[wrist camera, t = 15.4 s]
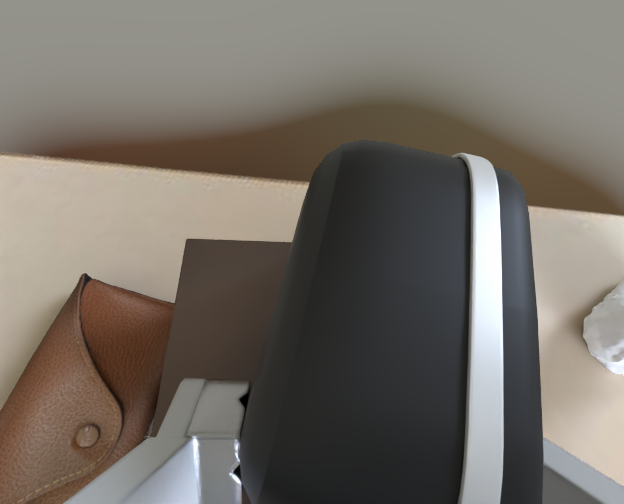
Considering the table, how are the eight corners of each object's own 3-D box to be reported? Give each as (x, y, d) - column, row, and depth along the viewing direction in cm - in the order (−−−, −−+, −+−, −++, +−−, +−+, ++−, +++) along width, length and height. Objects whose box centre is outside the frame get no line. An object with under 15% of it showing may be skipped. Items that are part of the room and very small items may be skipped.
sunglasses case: (81, 641, 18) (-92, 709, 13) (18, 581, 21) (-139, 615, 16) (205, 306, 25) (128, 264, 20) (144, 301, 29) (65, 265, 24)
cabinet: (389, 294, 27) (441, 235, 18) (408, 496, 22) (496, 553, 13) (221, 290, 27) (188, 225, 18) (196, 498, 21) (128, 560, 12)
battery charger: (296, 287, 16) (323, 73, 6) (375, 306, 16) (538, 121, 6) (253, 454, 13) (166, 590, 3) (350, 478, 13) (587, 696, 3)
